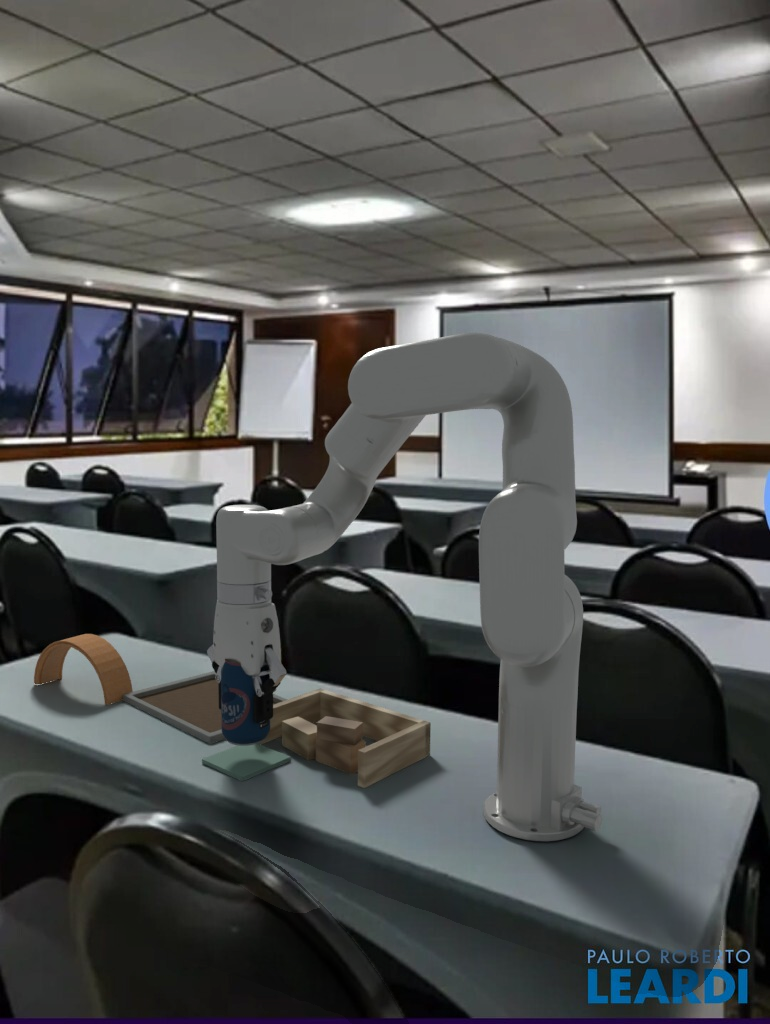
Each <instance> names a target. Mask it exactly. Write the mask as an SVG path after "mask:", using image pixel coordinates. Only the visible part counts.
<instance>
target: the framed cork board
mask: <svg viewBox="0 0 770 1024" xmlns="http://www.w3.org/2000/svg"><path fill="white" fill-rule="evenodd" d="M215 677H216V673H215V671H214V670H213V671H209V672H206V673H202V674H197V675H193V676H189V677H186V678H182V679H177V680H174V681H173V680H172V681H170V682H166V683H161V684H159V685H154V686H150V687H146V688H142V689H139V690H135V691H133V692H130V693H126V694H123V700H122V701H123V702H125V703H127V704H129V705H131V706H133V707H134V708H137V709H139V710H141V711H143V712H145V713H147V714H149V715H151V716H152V717H153V716H154V717H155V718H156V719H159V720H161V721H163V722H165V723H167V724H169V725H171V726H173V727H175V728H178V729H179V730H181V731H183V732H185V733H187V734H189V735H190V736H193V737H195V738H197V739H199V740H201V741H203V742H205V743H207V744H210V745H211V744H214V743H218V742H221V741H223V740H226V738H225V737H224V735H223V734H222V722H221V709H219V690H218V683H220V682H217V681H216V678H215ZM286 700H288V699H287V698H285V697H282V696H279V695H276V694H274V693H273V705H274V704H277V703H280V702H283V701H286Z"/></svg>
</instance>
